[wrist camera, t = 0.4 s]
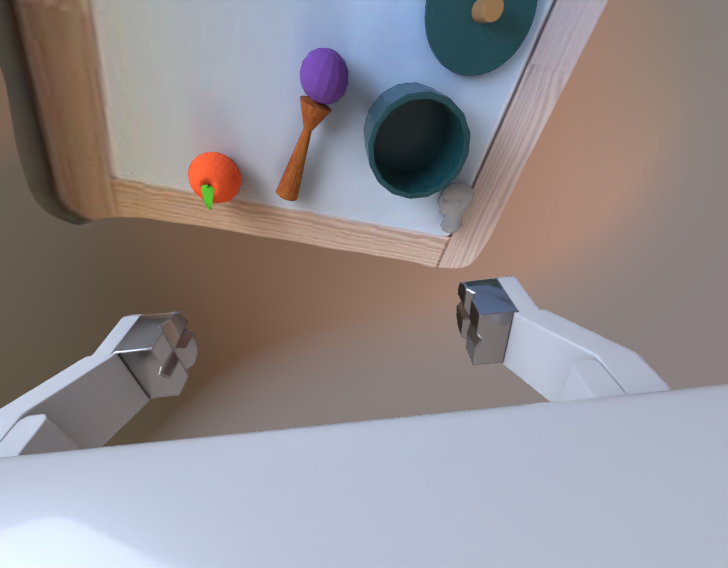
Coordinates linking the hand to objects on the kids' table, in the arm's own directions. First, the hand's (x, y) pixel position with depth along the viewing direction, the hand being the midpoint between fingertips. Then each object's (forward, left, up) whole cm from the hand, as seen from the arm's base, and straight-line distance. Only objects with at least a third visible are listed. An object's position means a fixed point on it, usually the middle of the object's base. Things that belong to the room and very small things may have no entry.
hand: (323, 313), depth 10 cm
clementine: (+9, -19, -45) cm, 50 cm away
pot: (+6, +9, -45) cm, 46 cm away
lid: (-7, +18, -45) cm, 49 cm away
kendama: (+4, -5, -45) cm, 46 cm away
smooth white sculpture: (+17, +16, -45) cm, 51 cm away
